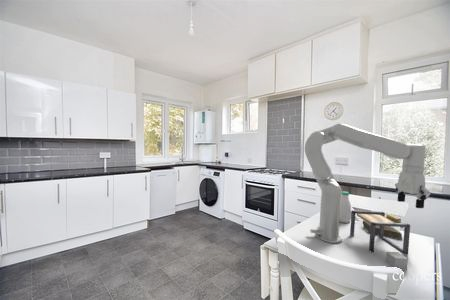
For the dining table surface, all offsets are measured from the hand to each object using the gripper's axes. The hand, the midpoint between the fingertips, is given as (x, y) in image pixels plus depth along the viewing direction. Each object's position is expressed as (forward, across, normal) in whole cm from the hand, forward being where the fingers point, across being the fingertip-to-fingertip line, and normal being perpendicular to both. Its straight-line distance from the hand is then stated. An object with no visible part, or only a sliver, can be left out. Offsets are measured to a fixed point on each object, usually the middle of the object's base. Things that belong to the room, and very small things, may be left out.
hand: (409, 204), depth 96 cm
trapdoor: (+11, -7, -8) cm, 16 cm away
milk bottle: (+24, -37, -9) cm, 45 cm away
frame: (+24, -7, -9) cm, 26 cm away
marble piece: (+24, -23, +4) cm, 34 cm away
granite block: (+24, +12, -15) cm, 31 cm away
